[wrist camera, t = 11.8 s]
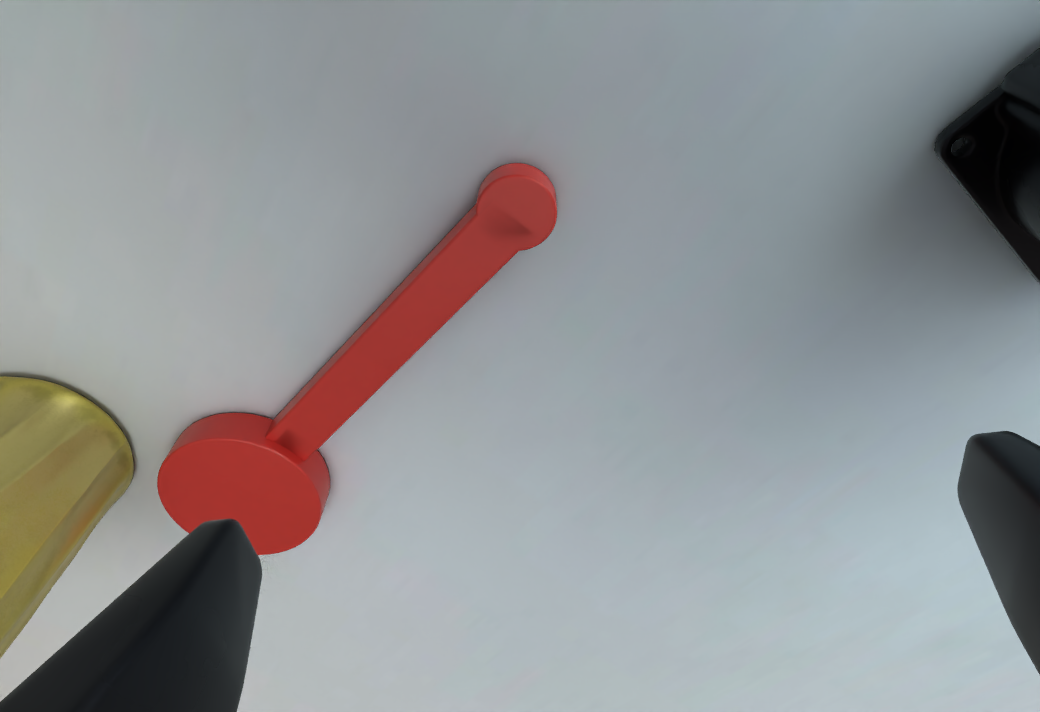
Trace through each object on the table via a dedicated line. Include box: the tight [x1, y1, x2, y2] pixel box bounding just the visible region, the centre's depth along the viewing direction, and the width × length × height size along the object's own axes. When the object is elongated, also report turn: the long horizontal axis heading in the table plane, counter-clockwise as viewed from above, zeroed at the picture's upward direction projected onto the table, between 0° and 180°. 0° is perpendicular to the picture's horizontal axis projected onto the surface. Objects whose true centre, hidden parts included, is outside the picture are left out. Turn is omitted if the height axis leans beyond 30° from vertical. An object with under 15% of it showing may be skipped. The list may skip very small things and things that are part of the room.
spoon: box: [157, 163, 557, 555], centre depth 24 cm, size 6×18×1 cm, turn 138°
